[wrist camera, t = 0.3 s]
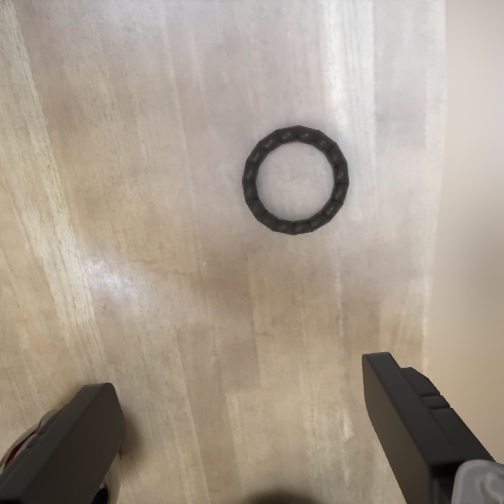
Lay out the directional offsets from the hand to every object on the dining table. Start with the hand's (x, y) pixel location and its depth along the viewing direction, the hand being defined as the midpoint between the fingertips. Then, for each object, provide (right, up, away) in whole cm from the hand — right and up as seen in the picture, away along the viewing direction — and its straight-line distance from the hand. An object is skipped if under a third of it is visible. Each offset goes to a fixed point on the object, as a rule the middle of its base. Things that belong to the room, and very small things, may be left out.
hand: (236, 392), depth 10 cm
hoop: (+4, +11, +17) cm, 20 cm away
